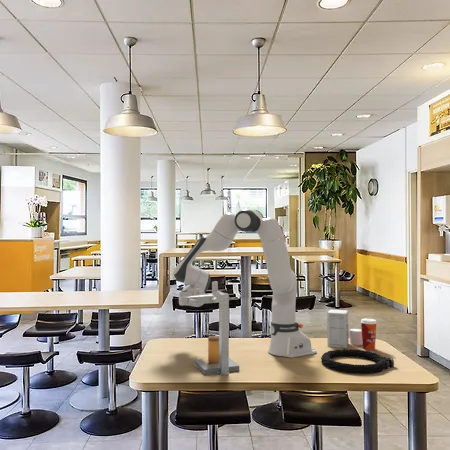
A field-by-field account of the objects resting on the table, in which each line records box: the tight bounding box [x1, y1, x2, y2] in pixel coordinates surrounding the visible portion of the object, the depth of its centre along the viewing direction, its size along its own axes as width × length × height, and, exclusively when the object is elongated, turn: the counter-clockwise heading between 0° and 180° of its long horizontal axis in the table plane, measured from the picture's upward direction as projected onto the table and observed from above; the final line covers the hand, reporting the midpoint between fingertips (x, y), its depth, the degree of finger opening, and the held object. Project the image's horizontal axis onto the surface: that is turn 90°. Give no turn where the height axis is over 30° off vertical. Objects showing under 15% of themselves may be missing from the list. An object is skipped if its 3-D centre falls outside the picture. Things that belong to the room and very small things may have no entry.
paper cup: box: [360, 317, 378, 351], centre depth 219 cm, size 8×8×14 cm
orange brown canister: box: [207, 335, 219, 365], centre depth 192 cm, size 5×5×12 cm
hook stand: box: [211, 280, 230, 377], centre depth 186 cm, size 3×14×36 cm, turn 20°
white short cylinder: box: [348, 328, 363, 346], centre depth 229 cm, size 7×7×7 cm
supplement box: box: [326, 309, 350, 349], centre depth 226 cm, size 10×9×17 cm
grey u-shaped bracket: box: [194, 357, 240, 375], centre depth 189 cm, size 15×14×2 cm
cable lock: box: [320, 348, 395, 375], centre depth 194 cm, size 28×4×30 cm
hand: (204, 301), depth 205 cm, fingers open, 8 cm apart
